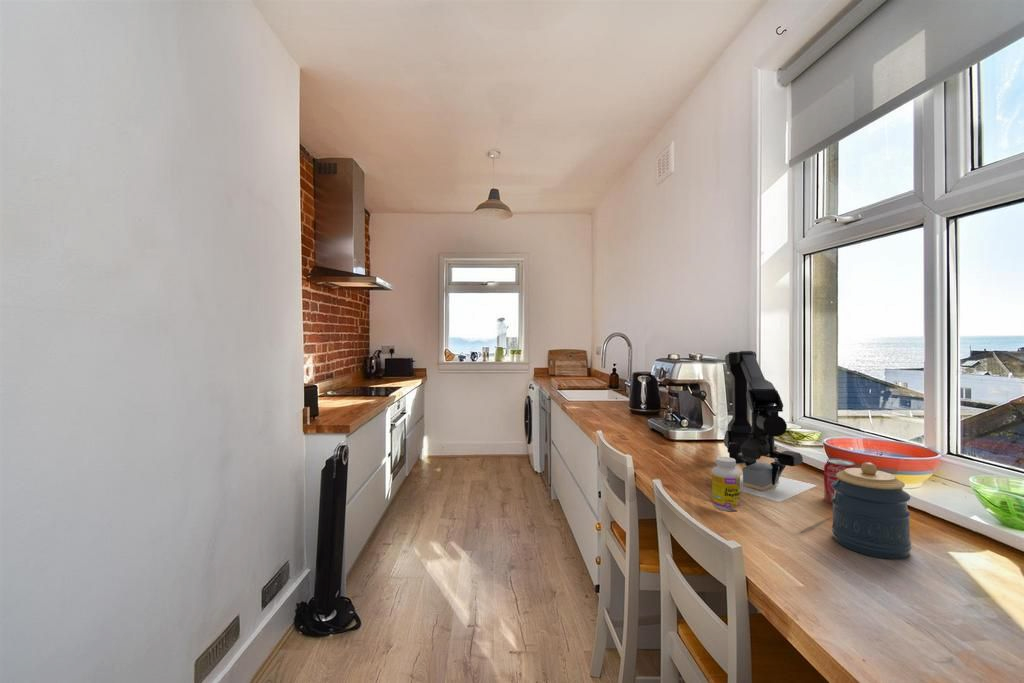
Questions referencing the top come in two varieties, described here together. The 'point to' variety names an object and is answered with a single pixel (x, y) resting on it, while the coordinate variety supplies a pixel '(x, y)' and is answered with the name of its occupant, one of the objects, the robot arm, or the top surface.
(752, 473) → the block
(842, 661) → the top surface
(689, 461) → the top surface
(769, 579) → the top surface
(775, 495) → the board
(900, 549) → the canister
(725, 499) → the supplement bottle
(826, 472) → the soda can
